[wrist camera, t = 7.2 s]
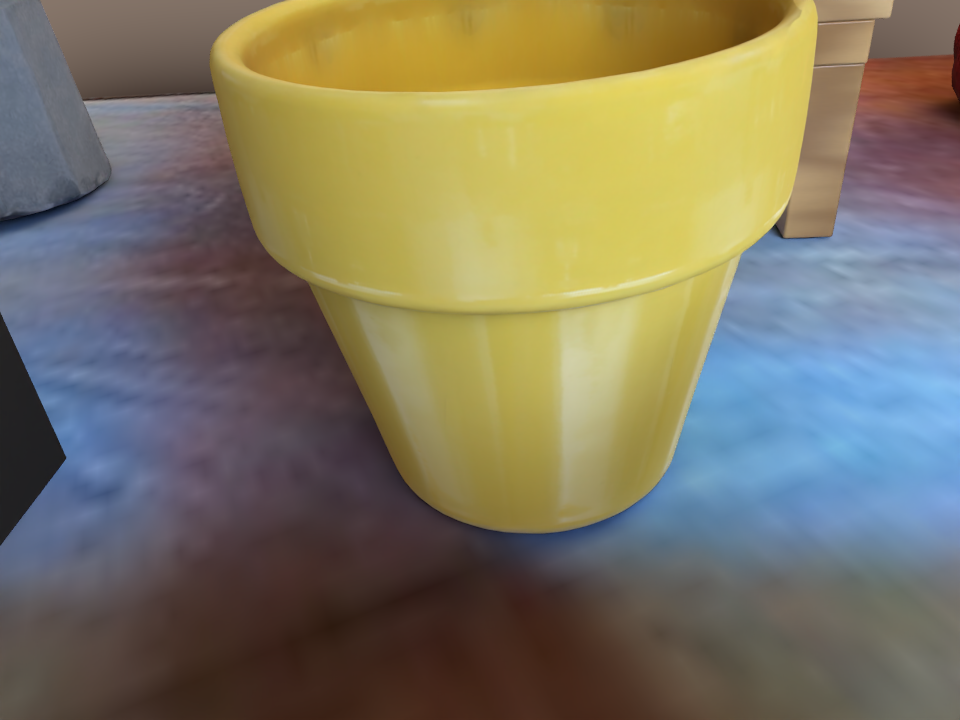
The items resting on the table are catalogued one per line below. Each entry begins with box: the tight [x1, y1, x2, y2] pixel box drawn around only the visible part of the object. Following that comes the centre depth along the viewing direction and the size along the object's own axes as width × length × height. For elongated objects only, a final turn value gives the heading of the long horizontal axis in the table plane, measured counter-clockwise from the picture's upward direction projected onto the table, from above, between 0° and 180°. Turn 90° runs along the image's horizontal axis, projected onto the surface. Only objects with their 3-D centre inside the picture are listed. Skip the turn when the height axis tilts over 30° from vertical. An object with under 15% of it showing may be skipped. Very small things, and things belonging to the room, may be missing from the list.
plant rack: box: [775, 0, 894, 238], centre depth 31 cm, size 15×13×8 cm
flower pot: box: [210, 0, 818, 534], centre depth 17 cm, size 10×10×10 cm
